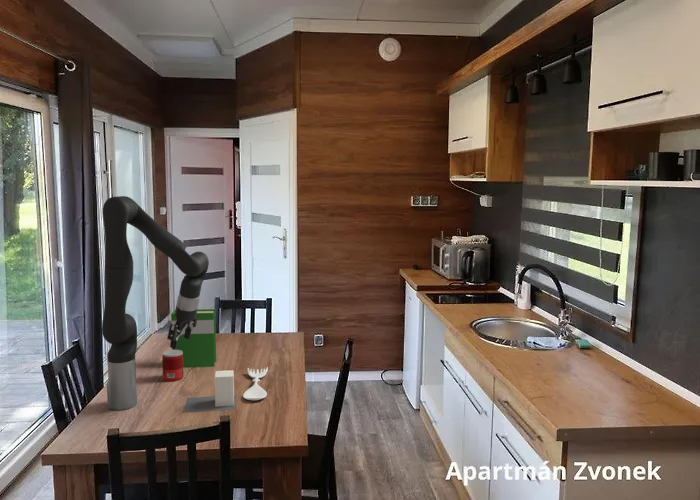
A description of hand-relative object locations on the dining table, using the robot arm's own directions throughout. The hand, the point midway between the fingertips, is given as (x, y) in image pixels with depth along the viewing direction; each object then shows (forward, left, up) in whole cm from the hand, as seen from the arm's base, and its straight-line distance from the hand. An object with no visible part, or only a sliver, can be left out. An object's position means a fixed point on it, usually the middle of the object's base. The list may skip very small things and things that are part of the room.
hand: (179, 343), depth 200 cm
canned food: (-6, +22, -22) cm, 32 cm away
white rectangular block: (+16, -7, -21) cm, 27 cm away
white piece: (+28, +8, -22) cm, 36 cm away
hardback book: (+1, +38, -22) cm, 44 cm away
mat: (+11, -7, -22) cm, 25 cm away
